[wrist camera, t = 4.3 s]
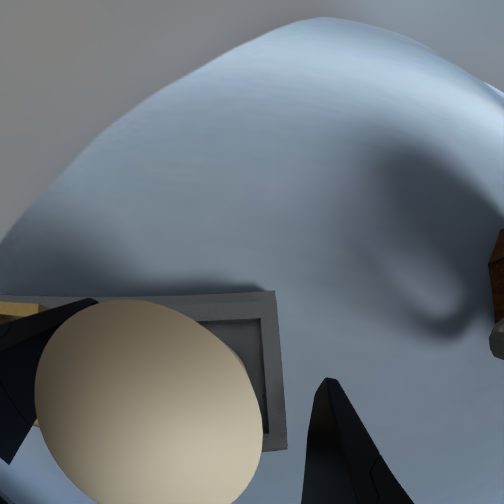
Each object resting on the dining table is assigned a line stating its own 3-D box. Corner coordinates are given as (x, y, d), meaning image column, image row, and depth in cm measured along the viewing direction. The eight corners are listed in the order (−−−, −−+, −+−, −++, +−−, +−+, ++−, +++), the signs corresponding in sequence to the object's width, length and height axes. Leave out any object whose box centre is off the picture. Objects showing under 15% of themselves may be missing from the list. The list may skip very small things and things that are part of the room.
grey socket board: (272, 295, 17) (279, 281, 14) (284, 443, 13) (293, 461, 10) (1, 297, 15) (-25, 287, 12) (2, 408, 12) (-24, 410, 9)
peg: (262, 383, 14) (317, 450, 3) (202, 426, 13) (130, 544, 2) (215, 325, 15) (157, 251, 4) (156, 367, 14) (7, 371, 3)
